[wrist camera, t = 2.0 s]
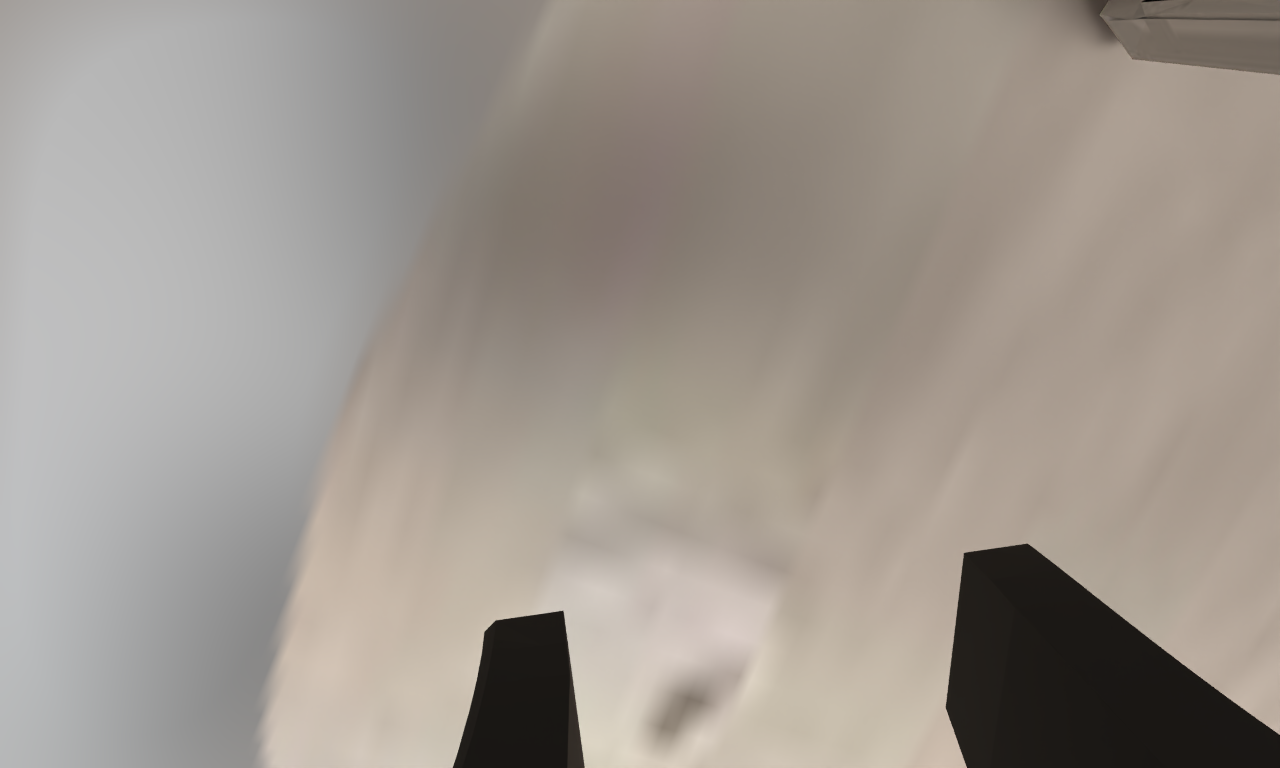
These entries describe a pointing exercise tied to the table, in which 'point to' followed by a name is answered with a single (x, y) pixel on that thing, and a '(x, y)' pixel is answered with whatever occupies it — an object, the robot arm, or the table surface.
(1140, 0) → the electrical switch
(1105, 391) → the table surface
